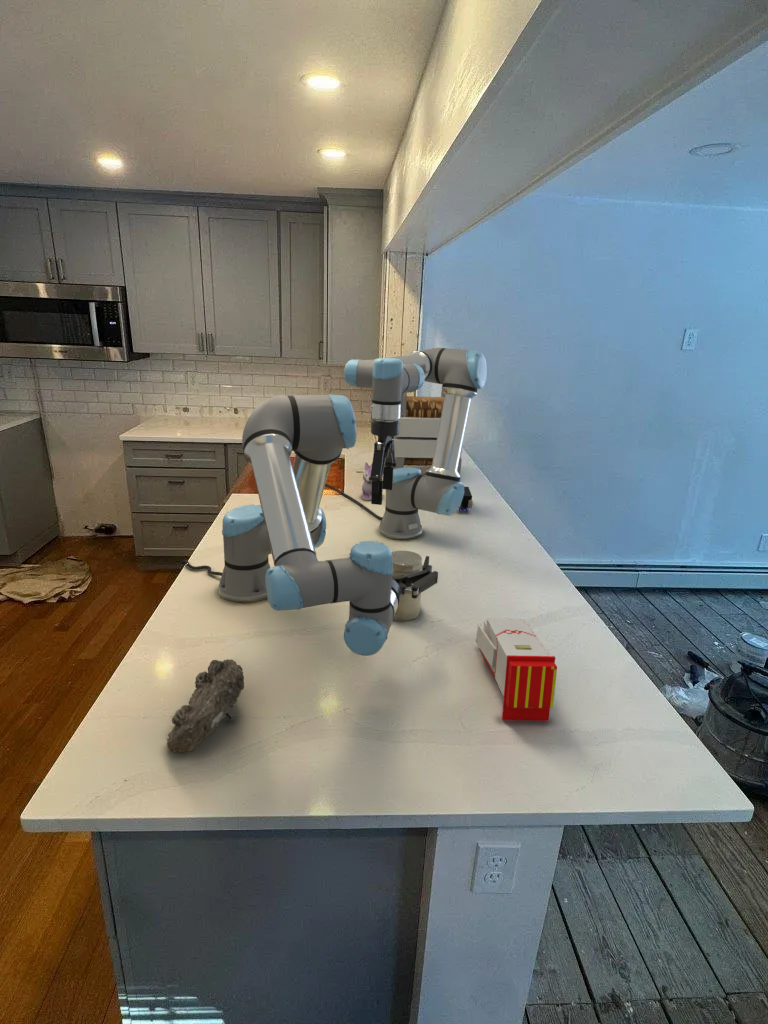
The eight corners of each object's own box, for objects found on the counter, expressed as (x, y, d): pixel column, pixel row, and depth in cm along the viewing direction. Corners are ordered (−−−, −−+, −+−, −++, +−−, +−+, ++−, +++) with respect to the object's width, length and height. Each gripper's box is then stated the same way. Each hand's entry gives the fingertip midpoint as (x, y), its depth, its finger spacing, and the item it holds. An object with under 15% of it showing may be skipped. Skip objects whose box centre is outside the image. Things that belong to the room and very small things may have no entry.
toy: (523, 604, 135) (566, 662, 106) (518, 656, 138) (559, 727, 109) (472, 603, 135) (501, 661, 105) (468, 655, 138) (496, 726, 108)
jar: (421, 621, 145) (425, 566, 139) (383, 620, 144) (386, 565, 139) (417, 602, 154) (421, 550, 149) (381, 601, 153) (384, 549, 148)
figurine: (366, 502, 230) (367, 466, 225) (355, 494, 239) (356, 460, 234) (386, 499, 235) (388, 464, 229) (375, 492, 243) (377, 458, 238)
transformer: (382, 463, 289) (386, 382, 275) (445, 464, 293) (451, 384, 279) (390, 482, 257) (394, 392, 243) (460, 483, 261) (468, 394, 247)
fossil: (192, 660, 117) (244, 628, 112) (224, 691, 120) (276, 661, 115) (142, 746, 98) (202, 712, 93) (182, 779, 101) (242, 748, 96)
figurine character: (472, 517, 222) (467, 501, 236) (475, 500, 219) (469, 484, 233) (455, 517, 222) (451, 500, 236) (457, 499, 219) (452, 484, 232)
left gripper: (320, 608, 117) (346, 565, 137) (440, 625, 113) (450, 579, 132) (320, 575, 114) (347, 537, 134) (443, 591, 110) (453, 549, 130)
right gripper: (382, 410, 160) (379, 482, 168) (359, 427, 137) (357, 509, 145) (408, 412, 159) (403, 485, 166) (389, 429, 136) (385, 512, 143)
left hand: (398, 557), depth 133 cm, fingers open, 13 cm apart
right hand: (382, 496), depth 155 cm, fingers open, 13 cm apart
